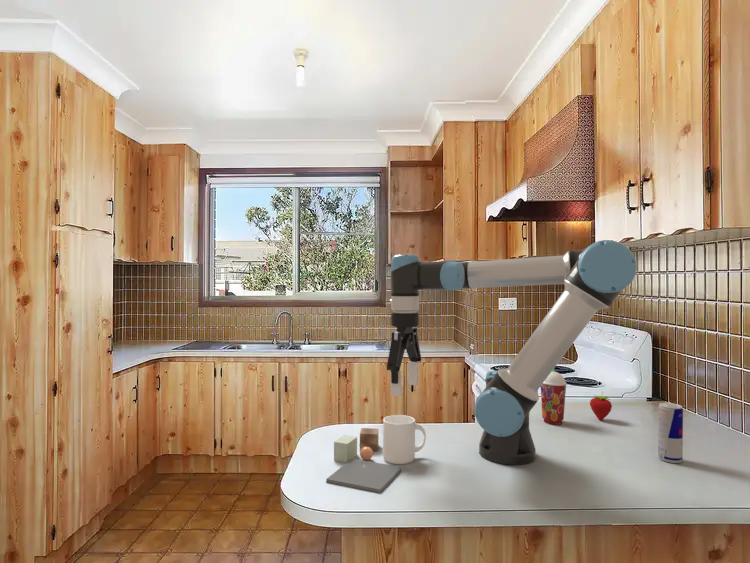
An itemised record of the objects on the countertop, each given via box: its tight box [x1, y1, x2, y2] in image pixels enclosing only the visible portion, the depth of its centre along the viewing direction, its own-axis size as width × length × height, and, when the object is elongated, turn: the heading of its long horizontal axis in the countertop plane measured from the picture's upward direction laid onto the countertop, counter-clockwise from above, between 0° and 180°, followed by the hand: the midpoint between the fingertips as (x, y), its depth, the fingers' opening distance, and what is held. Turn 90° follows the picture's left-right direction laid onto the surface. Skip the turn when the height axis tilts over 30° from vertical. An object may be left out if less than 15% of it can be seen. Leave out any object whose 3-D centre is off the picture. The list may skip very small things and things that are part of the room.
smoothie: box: [540, 368, 567, 425], centre depth 162 cm, size 8×8×20 cm
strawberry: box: [589, 392, 613, 421], centre depth 164 cm, size 6×8×10 cm
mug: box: [382, 414, 427, 465], centre depth 129 cm, size 9×12×11 cm
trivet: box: [325, 458, 402, 494], centre depth 118 cm, size 14×14×1 cm
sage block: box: [333, 434, 358, 463], centre depth 130 cm, size 4×6×5 cm, turn 157°
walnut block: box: [359, 427, 379, 452], centre depth 137 cm, size 5×5×5 cm
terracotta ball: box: [359, 447, 374, 461], centre depth 128 cm, size 4×4×4 cm
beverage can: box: [657, 402, 684, 464], centre depth 129 cm, size 6×6×15 cm
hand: (404, 390), depth 129 cm, fingers open, 13 cm apart
